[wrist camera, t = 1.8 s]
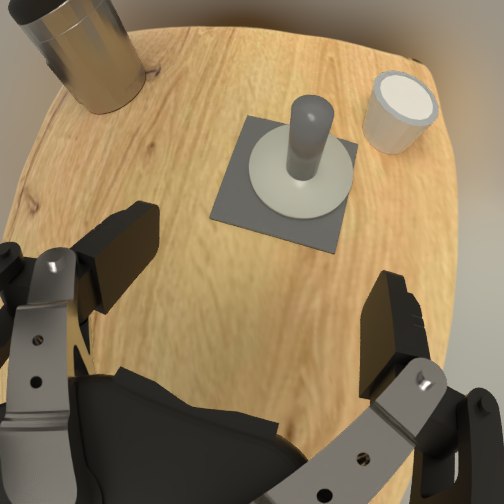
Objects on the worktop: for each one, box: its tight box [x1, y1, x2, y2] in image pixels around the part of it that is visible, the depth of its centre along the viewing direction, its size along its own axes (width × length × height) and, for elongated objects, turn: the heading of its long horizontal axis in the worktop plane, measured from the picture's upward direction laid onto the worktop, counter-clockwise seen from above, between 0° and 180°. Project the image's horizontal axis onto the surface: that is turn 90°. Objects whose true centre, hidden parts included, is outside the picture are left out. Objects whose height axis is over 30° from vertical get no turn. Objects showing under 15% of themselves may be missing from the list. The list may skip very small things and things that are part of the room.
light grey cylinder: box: [362, 71, 438, 155], centre depth 27 cm, size 7×7×7 cm
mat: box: [209, 115, 358, 254], centre depth 30 cm, size 12×12×1 cm
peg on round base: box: [249, 95, 353, 220], centre depth 25 cm, size 10×10×10 cm
